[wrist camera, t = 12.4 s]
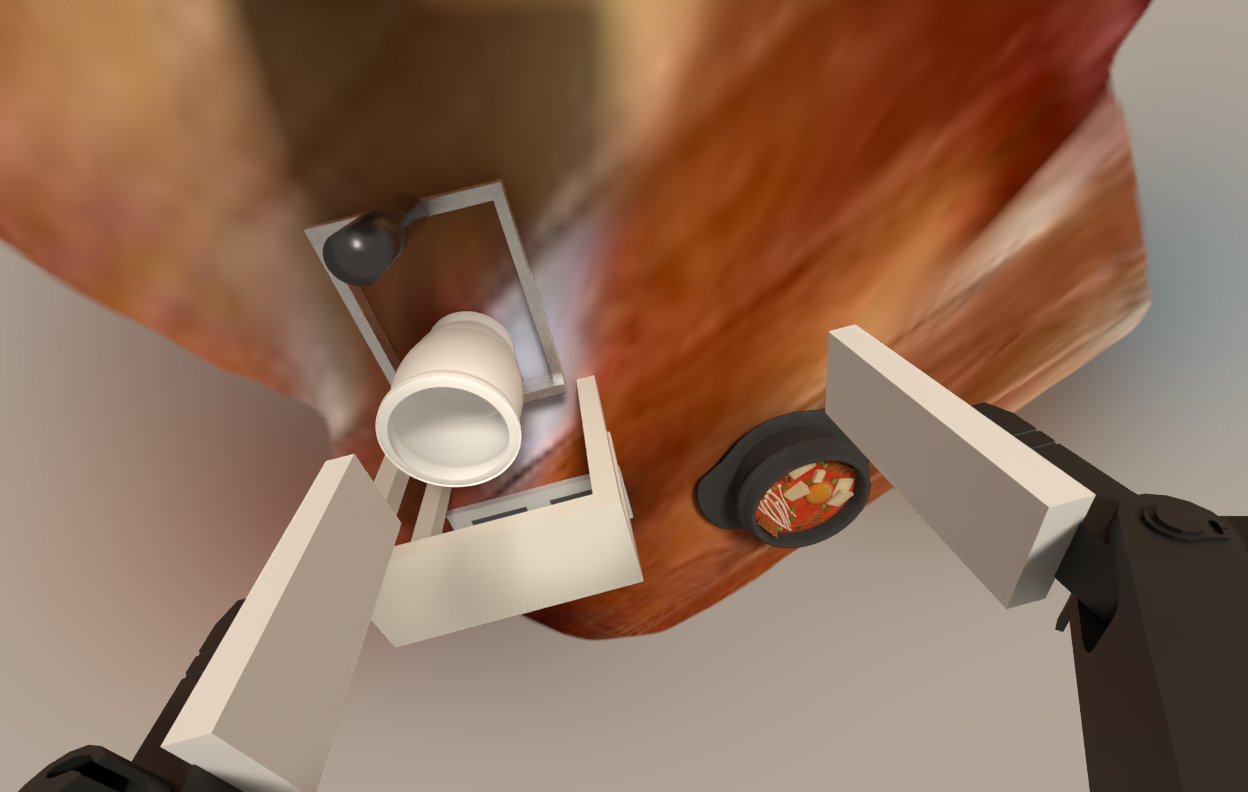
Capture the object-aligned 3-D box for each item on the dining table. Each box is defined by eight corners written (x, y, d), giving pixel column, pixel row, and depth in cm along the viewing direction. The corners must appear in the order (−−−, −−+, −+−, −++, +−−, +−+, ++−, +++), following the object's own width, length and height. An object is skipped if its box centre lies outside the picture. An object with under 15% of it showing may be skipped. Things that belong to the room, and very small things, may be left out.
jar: (546, 342, 49) (549, 426, 37) (486, 409, 52) (471, 507, 40) (455, 277, 44) (423, 347, 32) (396, 354, 47) (345, 447, 35)
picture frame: (306, 212, 39) (196, 266, 26) (497, 165, 39) (479, 196, 27) (417, 415, 50) (378, 520, 38) (565, 377, 51) (574, 469, 38)
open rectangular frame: (397, 425, 52) (333, 576, 35) (593, 375, 52) (620, 501, 36) (472, 554, 64) (450, 711, 47) (632, 512, 64) (664, 653, 48)
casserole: (723, 540, 70) (744, 589, 63) (668, 461, 61) (686, 508, 54) (882, 460, 67) (923, 503, 60) (851, 363, 57) (896, 400, 50)
